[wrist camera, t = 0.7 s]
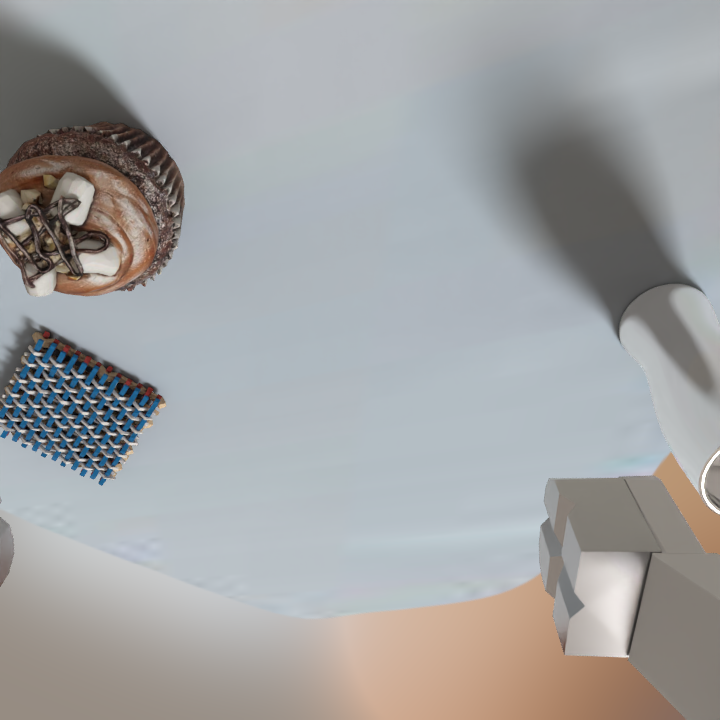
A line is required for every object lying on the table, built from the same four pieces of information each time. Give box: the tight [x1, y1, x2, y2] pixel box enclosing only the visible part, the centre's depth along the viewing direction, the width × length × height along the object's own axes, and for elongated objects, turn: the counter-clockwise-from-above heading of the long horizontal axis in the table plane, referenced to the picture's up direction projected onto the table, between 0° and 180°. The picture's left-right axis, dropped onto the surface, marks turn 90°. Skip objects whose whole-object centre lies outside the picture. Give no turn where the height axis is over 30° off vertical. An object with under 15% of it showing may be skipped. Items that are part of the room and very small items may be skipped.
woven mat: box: [0, 331, 166, 485], centre depth 51 cm, size 10×11×2 cm
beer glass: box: [619, 283, 720, 515], centre depth 40 cm, size 7×7×15 cm
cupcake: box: [0, 122, 185, 297], centre depth 38 cm, size 10×10×10 cm
